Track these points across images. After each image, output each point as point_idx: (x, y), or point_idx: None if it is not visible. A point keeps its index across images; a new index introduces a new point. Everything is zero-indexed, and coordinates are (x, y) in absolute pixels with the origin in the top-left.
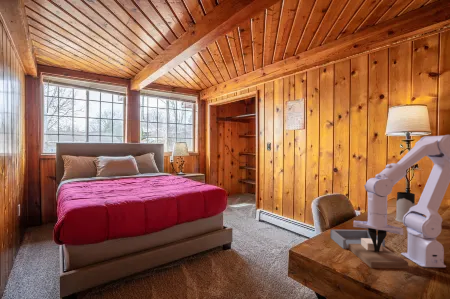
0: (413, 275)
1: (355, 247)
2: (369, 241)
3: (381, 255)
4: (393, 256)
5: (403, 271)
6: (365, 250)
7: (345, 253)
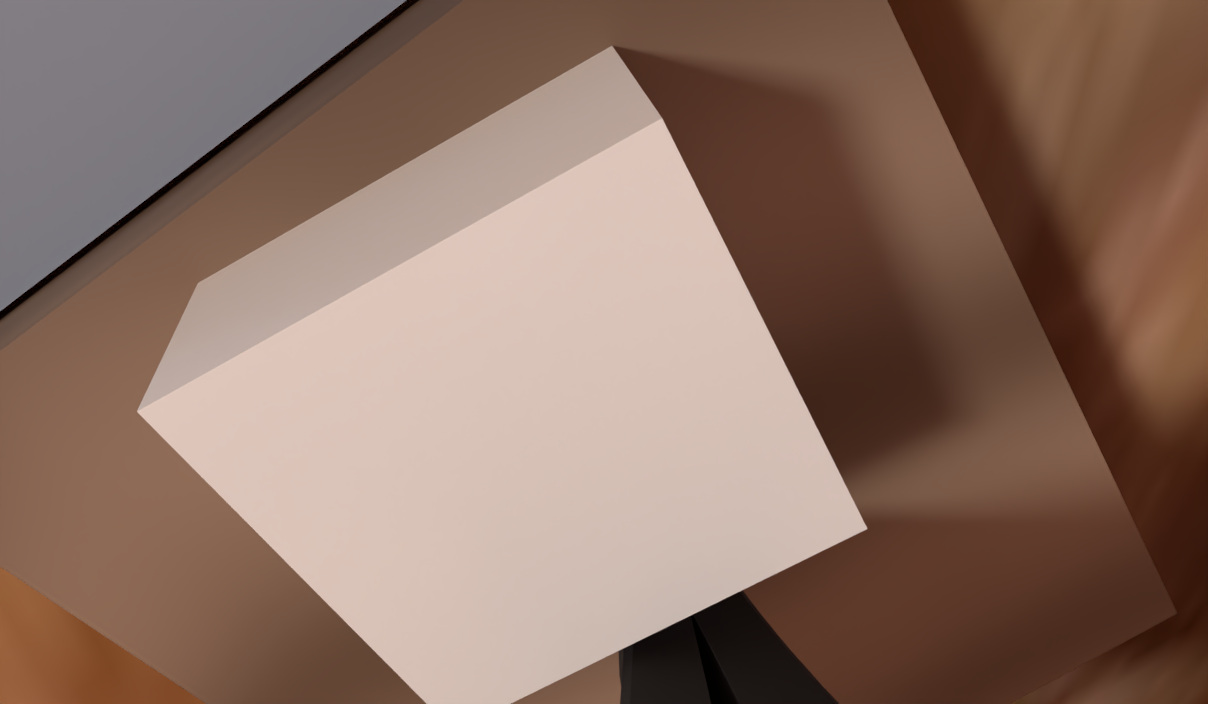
0: (1091, 689)
1: (143, 596)
2: (487, 562)
3: None
4: (982, 539)
5: None
6: None
7: (11, 648)
